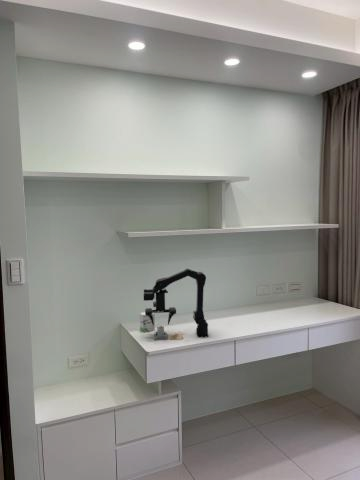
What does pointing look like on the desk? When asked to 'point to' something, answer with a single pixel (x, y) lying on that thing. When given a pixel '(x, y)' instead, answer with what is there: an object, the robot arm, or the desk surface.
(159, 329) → the cable plug
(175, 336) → the cork pad
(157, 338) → the grey square frame
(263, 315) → the desk surface
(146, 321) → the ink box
